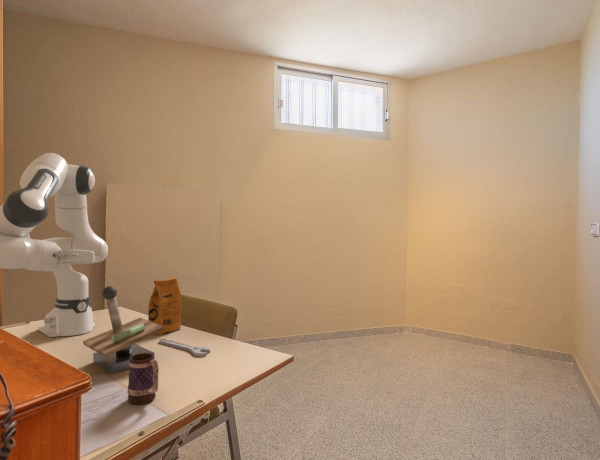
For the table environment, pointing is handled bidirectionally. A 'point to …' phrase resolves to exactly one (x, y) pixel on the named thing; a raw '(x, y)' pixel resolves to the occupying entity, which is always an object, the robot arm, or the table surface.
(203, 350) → the adjustable wrench
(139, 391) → the mug
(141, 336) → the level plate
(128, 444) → the table surface
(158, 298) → the coffee package
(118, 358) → the stand
